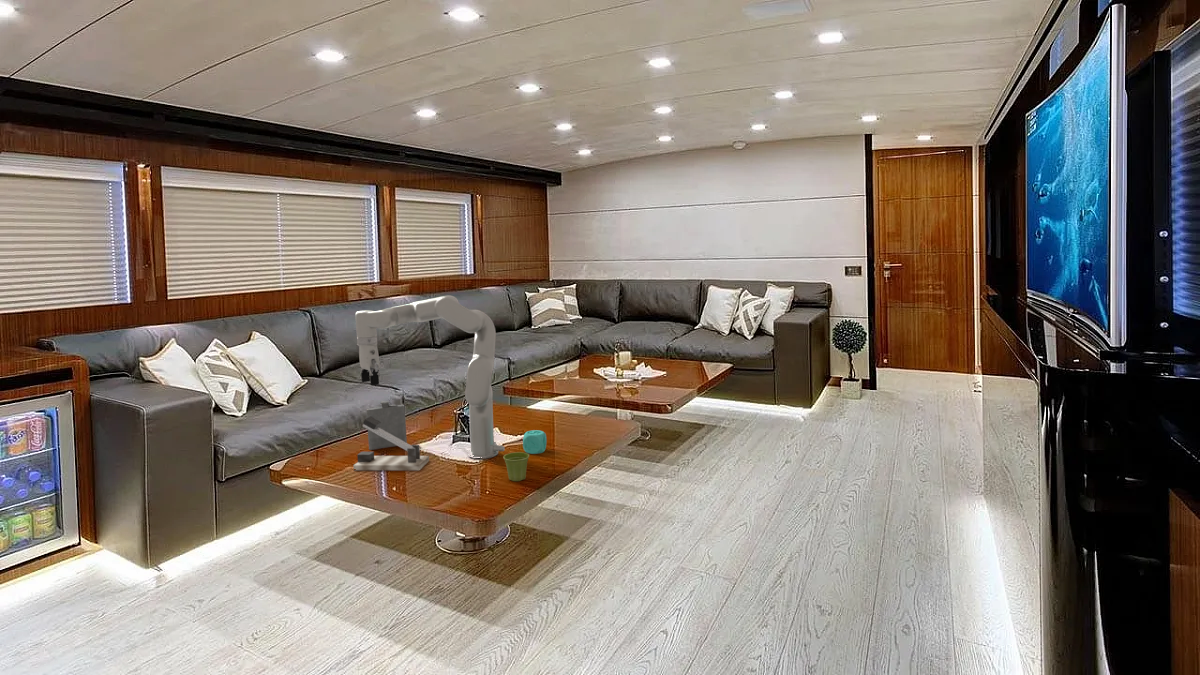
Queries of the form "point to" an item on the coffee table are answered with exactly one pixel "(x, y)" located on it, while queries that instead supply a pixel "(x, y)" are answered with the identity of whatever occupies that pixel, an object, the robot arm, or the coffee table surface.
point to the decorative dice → (534, 442)
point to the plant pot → (516, 465)
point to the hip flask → (387, 424)
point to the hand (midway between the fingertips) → (370, 383)
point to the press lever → (384, 433)
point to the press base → (392, 461)
